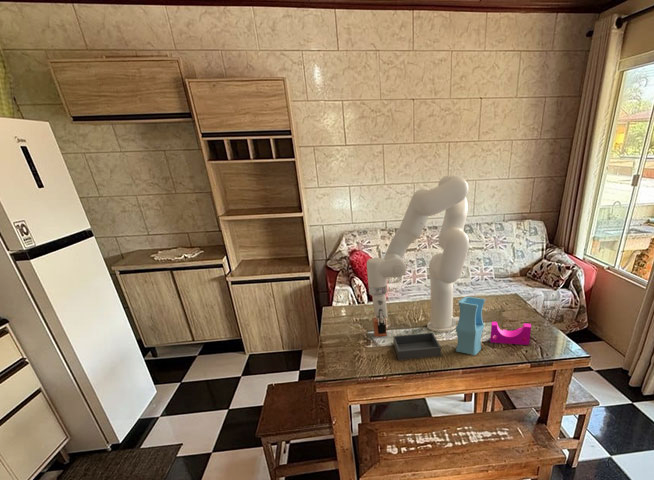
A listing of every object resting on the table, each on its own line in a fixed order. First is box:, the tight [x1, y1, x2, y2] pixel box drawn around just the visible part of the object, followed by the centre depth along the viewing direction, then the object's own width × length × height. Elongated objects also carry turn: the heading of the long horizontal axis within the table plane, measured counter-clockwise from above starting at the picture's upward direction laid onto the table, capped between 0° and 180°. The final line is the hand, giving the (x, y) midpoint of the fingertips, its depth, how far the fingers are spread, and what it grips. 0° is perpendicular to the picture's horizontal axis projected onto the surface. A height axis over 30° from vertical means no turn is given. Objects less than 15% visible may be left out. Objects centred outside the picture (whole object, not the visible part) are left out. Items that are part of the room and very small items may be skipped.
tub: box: [392, 332, 442, 361], centre depth 158 cm, size 16×14×4 cm
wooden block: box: [372, 317, 388, 338], centre depth 173 cm, size 5×5×7 cm
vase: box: [455, 296, 486, 356], centre depth 153 cm, size 8×8×20 cm
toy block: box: [489, 321, 532, 346], centre depth 163 cm, size 15×6×8 cm, turn 76°
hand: (381, 329), depth 173 cm, fingers open, 8 cm apart
